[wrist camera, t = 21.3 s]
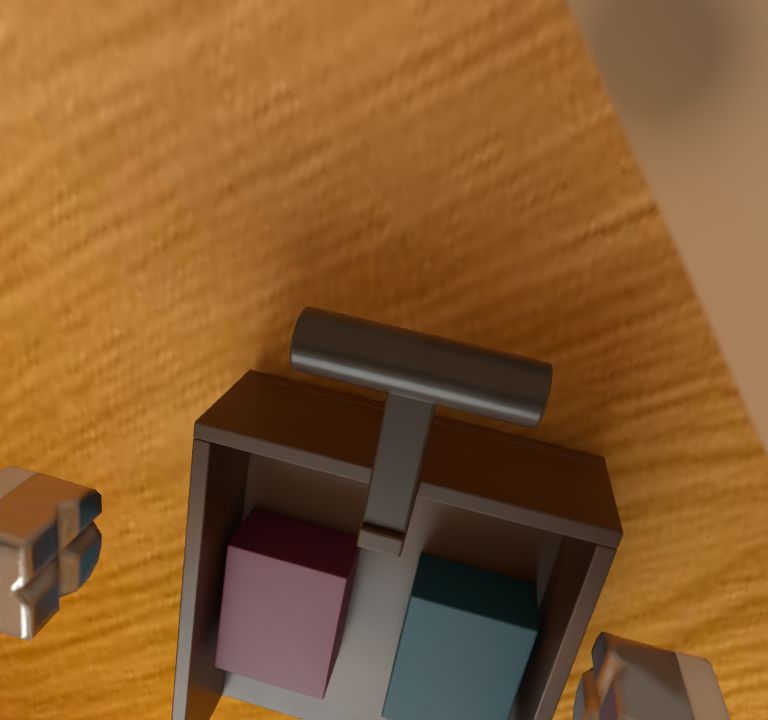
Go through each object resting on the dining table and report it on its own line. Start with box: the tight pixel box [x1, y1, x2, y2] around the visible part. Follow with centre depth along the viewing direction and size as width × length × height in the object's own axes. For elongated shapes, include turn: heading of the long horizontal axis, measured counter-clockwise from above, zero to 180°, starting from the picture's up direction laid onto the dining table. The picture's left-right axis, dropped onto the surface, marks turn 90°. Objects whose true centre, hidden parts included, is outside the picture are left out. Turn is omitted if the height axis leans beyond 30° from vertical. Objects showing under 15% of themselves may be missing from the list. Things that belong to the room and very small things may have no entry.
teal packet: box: [382, 553, 539, 720], centre depth 25 cm, size 6×4×2 cm
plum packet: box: [215, 508, 361, 700], centre depth 26 cm, size 6×4×2 cm
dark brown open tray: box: [171, 306, 623, 720], centre depth 22 cm, size 21×13×8 cm, turn 170°
